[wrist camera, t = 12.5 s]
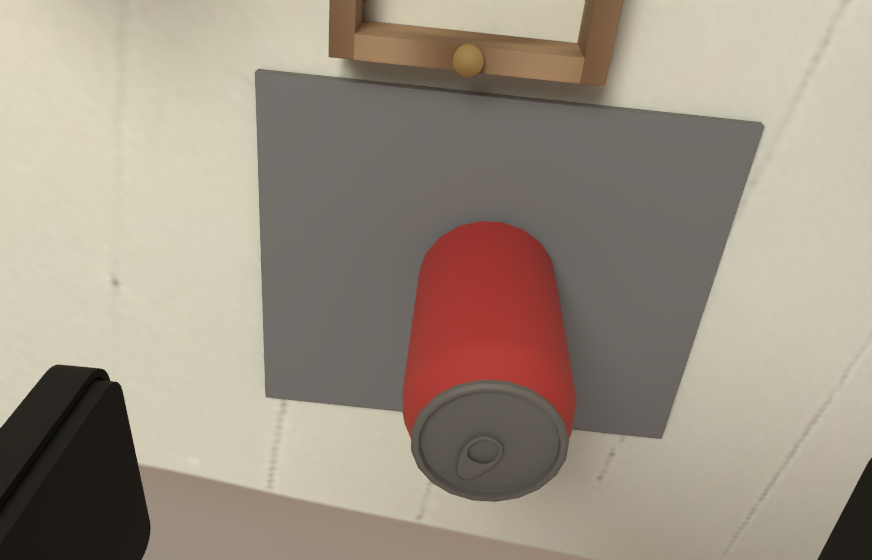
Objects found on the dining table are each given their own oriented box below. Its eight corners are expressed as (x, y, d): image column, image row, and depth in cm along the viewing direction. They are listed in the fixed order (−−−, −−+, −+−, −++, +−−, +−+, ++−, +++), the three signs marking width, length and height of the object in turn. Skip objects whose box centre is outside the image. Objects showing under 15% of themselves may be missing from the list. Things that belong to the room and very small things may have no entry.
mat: (760, 122, 32) (764, 126, 32) (659, 432, 42) (661, 438, 41) (257, 68, 32) (255, 72, 32) (267, 391, 42) (265, 397, 41)
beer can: (396, 295, 37) (364, 470, 27) (461, 190, 34) (453, 342, 24) (508, 350, 39) (518, 536, 28) (581, 254, 36) (622, 423, 25)
